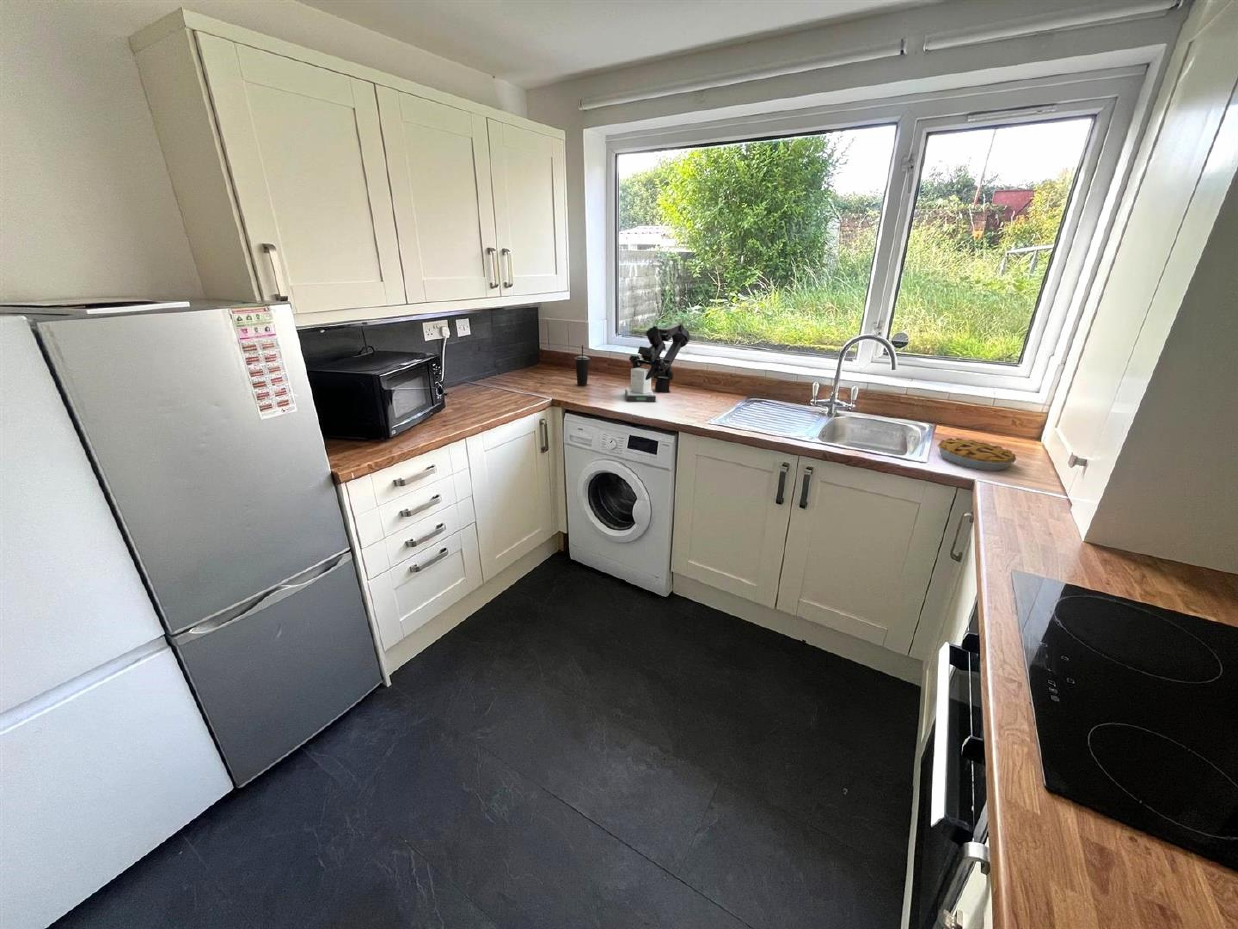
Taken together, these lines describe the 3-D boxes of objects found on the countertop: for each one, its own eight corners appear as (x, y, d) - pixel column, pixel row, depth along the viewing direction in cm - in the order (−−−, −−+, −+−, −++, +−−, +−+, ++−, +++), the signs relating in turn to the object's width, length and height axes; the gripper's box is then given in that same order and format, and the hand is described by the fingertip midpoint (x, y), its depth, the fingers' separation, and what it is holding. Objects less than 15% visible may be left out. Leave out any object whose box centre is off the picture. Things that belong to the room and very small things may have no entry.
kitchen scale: (651, 395, 239) (652, 388, 238) (655, 402, 227) (655, 395, 226) (624, 394, 238) (625, 388, 237) (627, 401, 226) (627, 394, 225)
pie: (923, 456, 169) (927, 442, 168) (952, 445, 181) (956, 432, 180) (997, 477, 153) (1002, 462, 151) (1023, 464, 165) (1028, 450, 163)
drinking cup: (589, 387, 251) (589, 346, 244) (573, 386, 251) (573, 346, 244) (590, 383, 258) (590, 344, 251) (575, 383, 258) (575, 343, 251)
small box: (650, 392, 231) (652, 369, 227) (643, 394, 227) (644, 371, 223) (637, 389, 236) (638, 367, 232) (630, 391, 232) (630, 368, 228)
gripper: (632, 337, 231) (615, 364, 228) (664, 342, 220) (647, 370, 216) (642, 352, 240) (626, 378, 236) (673, 358, 228) (657, 385, 225)
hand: (639, 377), depth 228 cm, fingers closed on small box, 8 cm apart
